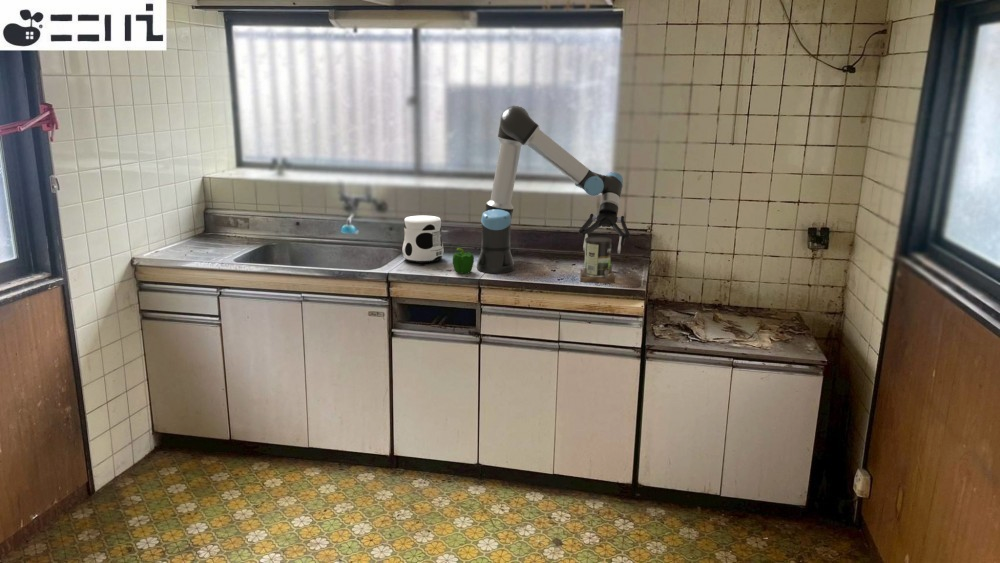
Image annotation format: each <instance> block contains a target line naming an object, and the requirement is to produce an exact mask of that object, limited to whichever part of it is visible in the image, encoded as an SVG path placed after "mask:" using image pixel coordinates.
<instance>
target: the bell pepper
mask: <svg viewBox="0 0 1000 563" xmlns="http://www.w3.org/2000/svg"><path fill="white" fill-rule="evenodd" d="M456 251H459V252H454V253H453V255H452V265H453V270H454V272H455V273H456V274H464V275H466V274H467V275H468V274H470V273H472V272H471V271H472V270H473V268H474V262H475V261H474V260H475V258H474V255H473V254H472V253H471V252H470V251H468V252H464V249H463V248H460V247H457V248H456Z"/></svg>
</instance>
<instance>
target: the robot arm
mask: <svg viewBox="0 0 1000 563" xmlns="http://www.w3.org/2000/svg"><path fill="white" fill-rule="evenodd" d="M499 121H500V123H499V128H498V133H497V139H498V140H499V142H500V144H499V151H498V156H497V162H496V165H495V166H496V167H495V172H494V177H493V178H494V179H493V184H492V190H491V193H490V194H491V195H490V200H488V201H486V203H485V209H484V212H482V214H481V220H480V222H481V249H480V254H479V256H478V260H477V263H476V269H477V270H478V271H479V272H481V273H482V272H483V273H487V274H504V273H505V274H506V273H510V272H513V271H514V270H515V263H514V260H513V259H514V258H513V256H512V253H511V229H512V228H511V225H512V218H513V213H514V209H515V208H514V205H513V204H512V198H513V192H514V188H515V187H514V186H515V184H516V183H515V182H516V177H517V173H518V172H517V170H518V166H519V160H520V155H521V150H522V146H528V147H529V148H531V149H532V150H533V151H535V152H536V153H537V154H538V155H539V156H540V157H542V158H543V159H544V160H546V161H547V162H548V163H549V164H551V165H552V166H553V167H555V169H557V170H559V171H560V172H561V173H562V174H563V175H565V176H566V177H567V178H568V179H570V180H571V181H572V182H573V183H574V185H575V187H578V188H580V189H582V190H583V191H584V192H585V193H586V194H587V195H589V196H593V197H595V196H599V195H600V194H601V199H600V203H599V204H600V206H599V210H598V214H597V215H594V214H593V213H590V215H589V218H588V219H587V220H586V221H585V222H584V224H583V225H582V226H581V227H580V229H579V230H578V233H579V235H580V236H581V238H582V239H581V242H582V244H583V246H582V249H583V252H585V238H587V237H589V235H590V234H592V233H593V232H594V231H595V230H597V229H598V228H600V227H602V228H605V227H607V228H612V229H613V230H615V232H616V234H618V236H619V241H618V245H617V254H618V255H620V254H621V250H622V249H621V248H622V247H624V246H625V240H628V239H630V238H631V236H630V235H631V234H630V231H629V228H628V226H627V224H626V222H625V216H624V215H621V216H618V214H619V213H618V212H619V207H620V203H621V195H622V191H623V187H624V185H623V183H624V177H623V176H622V175H621V174H620V173H619V172H617V171H614V172H613V171H612V172H611V171H610V172H608V173H607V174H605V175H603V174H600V173H596V172H594V171H592V170H590V169H589V168H588V167H587V166H586V165H584V164H583V163H582V162H580V160H578V158H576V157H575V156H574V155H572V154H570V153H569V152H568V151H567V150H566V149H565V148H563V147H562V146H561V145H559V144H558V143H557V142H556V141H555V140H553V139H552V138H551V137H550V136H548V135H547V134H546V133H545V132H544V131H542V130H541V129H540V125H539V124H538V123H536V121H534V120H533V119H532V118H531V116H530V115H529V112H528V111H527V110H526V109H525V108H523V107H522V106H519V105H511V106H508V107H506V108H505V109H504V110H503V111H502V113H501V114H500V120H499ZM595 220H596V221H595ZM593 222H594V223H593ZM617 222H619V223H620V224H621V227H622V229H623V230H622V229H621V227H619V225H617V224H618V223H617Z"/></svg>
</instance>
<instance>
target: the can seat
mask: <svg viewBox="0 0 1000 563" xmlns="http://www.w3.org/2000/svg"><path fill="white" fill-rule="evenodd" d="M586 275H587V268H584V267H583V268H582V269H580V278H579V279H580V280H579V282H580V283H598V282H600V284H601V283H602V284H603V283H604V284H605V283H606V284H615V282H616V280H615V273H614V270H613V264H612V263H610V275H609V270H605V273H604V277H589V276H586Z"/></svg>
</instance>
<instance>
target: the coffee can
mask: <svg viewBox="0 0 1000 563" xmlns="http://www.w3.org/2000/svg"><path fill="white" fill-rule="evenodd" d="M612 243H613V239H612V238H610V237H605V236H588V237H587V238H585V251H584V267H583V268H587V275H586V276H589V277H604V273H605V270H609V275H610V264H611V258H612V257H611V256H612Z"/></svg>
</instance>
